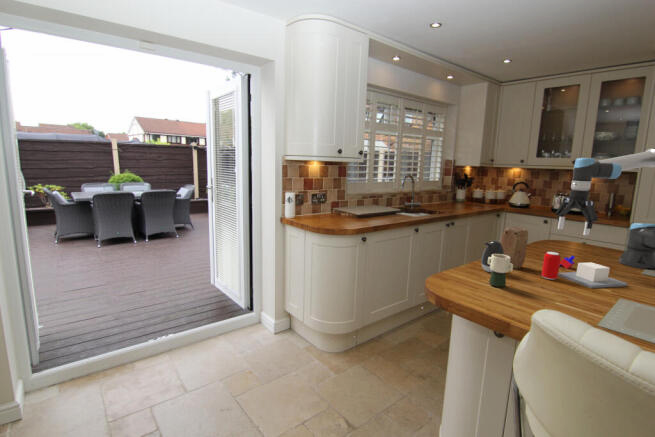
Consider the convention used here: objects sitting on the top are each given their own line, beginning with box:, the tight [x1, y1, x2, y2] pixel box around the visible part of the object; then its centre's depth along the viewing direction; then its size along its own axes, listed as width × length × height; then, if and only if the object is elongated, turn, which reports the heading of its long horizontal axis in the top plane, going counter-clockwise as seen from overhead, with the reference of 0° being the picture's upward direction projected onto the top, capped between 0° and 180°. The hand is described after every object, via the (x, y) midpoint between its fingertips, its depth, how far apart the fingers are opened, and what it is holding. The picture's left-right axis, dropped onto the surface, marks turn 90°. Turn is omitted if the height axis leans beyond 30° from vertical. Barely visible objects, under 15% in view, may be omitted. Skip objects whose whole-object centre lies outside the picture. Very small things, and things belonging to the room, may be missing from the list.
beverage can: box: [541, 251, 562, 281], centre depth 150 cm, size 6×6×12 cm
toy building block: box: [559, 255, 576, 269], centre depth 168 cm, size 4×4×8 cm
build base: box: [558, 262, 628, 289], centre depth 149 cm, size 20×16×7 cm
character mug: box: [488, 254, 514, 288], centre depth 138 cm, size 11×7×13 cm, turn 30°
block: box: [500, 226, 529, 270], centre depth 165 cm, size 11×8×20 cm
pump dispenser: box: [480, 240, 504, 274], centre depth 156 cm, size 10×10×15 cm
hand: (572, 232), depth 165 cm, fingers open, 13 cm apart
